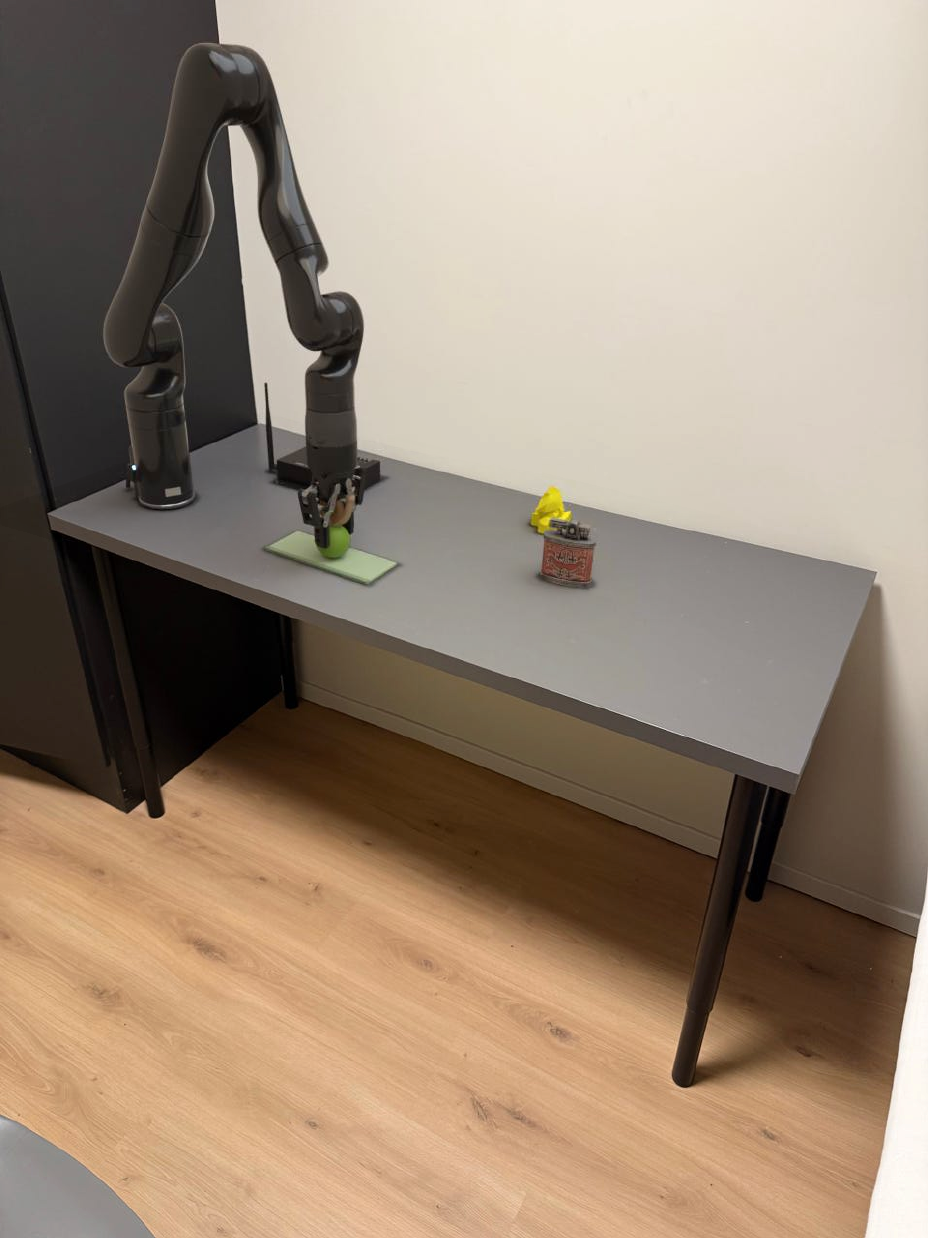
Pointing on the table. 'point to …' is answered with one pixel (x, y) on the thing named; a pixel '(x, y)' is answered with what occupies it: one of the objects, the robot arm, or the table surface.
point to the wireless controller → (305, 462)
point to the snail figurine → (338, 527)
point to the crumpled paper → (549, 510)
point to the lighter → (568, 553)
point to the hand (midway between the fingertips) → (334, 539)
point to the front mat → (347, 565)
